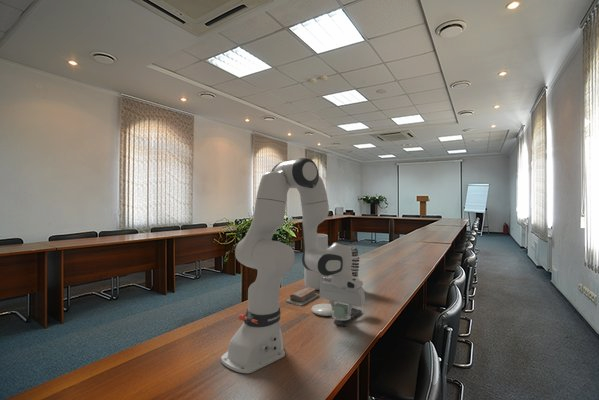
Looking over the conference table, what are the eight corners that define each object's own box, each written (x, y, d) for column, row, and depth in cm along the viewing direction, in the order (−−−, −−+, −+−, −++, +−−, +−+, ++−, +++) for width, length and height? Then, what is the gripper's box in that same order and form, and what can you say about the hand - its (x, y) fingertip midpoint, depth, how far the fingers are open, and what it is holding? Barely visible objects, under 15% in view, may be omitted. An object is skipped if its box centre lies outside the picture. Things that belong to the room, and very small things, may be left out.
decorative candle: (360, 292, 164) (361, 249, 164) (344, 292, 165) (344, 248, 164) (357, 287, 174) (358, 246, 173) (342, 287, 174) (342, 246, 174)
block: (343, 318, 121) (343, 307, 121) (334, 315, 123) (334, 305, 123) (348, 314, 124) (348, 304, 124) (339, 312, 127) (338, 302, 127)
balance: (345, 329, 118) (345, 305, 118) (328, 324, 123) (328, 300, 123) (366, 312, 136) (366, 291, 136) (350, 308, 141) (351, 287, 141)
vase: (321, 292, 165) (321, 237, 165) (299, 288, 173) (300, 235, 172) (331, 285, 177) (332, 234, 177) (311, 282, 185) (311, 233, 185)
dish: (330, 319, 127) (330, 316, 127) (306, 312, 135) (306, 309, 135) (344, 310, 138) (344, 307, 138) (320, 304, 146) (320, 301, 146)
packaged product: (304, 285, 164) (319, 288, 158) (303, 293, 164) (319, 297, 158) (285, 293, 149) (301, 297, 143) (285, 303, 149) (301, 307, 143)
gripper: (317, 277, 127) (316, 308, 127) (360, 285, 115) (360, 320, 115) (324, 274, 132) (324, 304, 132) (366, 282, 121) (366, 315, 121)
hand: (341, 312), depth 124 cm, fingers open, 5 cm apart
